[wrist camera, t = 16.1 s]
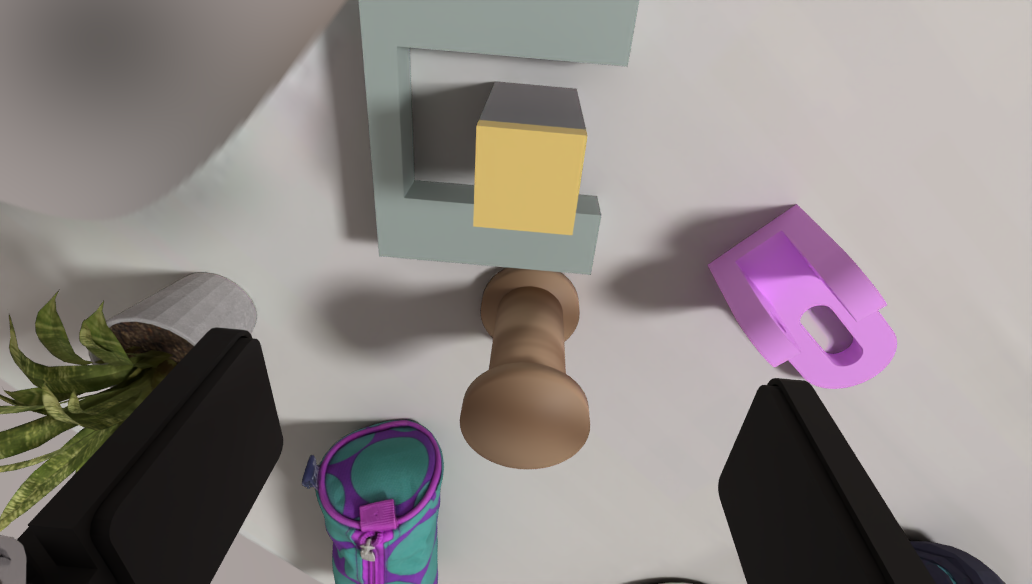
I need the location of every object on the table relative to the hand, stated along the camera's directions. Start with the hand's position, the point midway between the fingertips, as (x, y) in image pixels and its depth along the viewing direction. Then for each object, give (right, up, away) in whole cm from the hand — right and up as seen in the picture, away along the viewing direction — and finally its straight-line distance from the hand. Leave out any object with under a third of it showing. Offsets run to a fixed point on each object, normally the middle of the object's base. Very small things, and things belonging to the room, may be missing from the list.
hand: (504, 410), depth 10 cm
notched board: (0, +11, +16) cm, 20 cm away
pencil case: (-10, -15, +34) cm, 38 cm away
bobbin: (+1, +1, +22) cm, 22 cm away
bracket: (+18, +2, +22) cm, 28 cm away
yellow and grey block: (+1, +11, +16) cm, 20 cm away
